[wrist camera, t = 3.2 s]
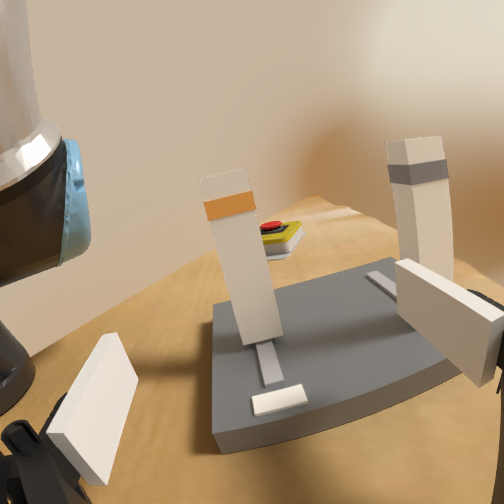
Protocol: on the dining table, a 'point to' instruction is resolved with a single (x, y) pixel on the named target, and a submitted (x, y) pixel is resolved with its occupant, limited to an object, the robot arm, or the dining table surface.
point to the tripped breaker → (242, 254)
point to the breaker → (422, 202)
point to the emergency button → (281, 238)
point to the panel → (319, 360)
